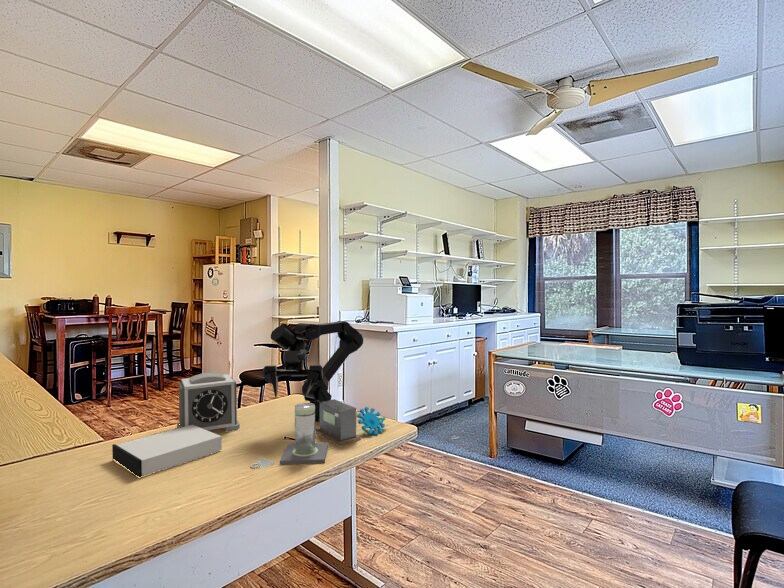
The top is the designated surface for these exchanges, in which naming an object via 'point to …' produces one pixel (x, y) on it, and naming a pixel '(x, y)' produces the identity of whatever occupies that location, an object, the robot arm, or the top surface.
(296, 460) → the pad
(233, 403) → the alarm clock
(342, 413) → the control unit
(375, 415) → the gear
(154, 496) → the top surface
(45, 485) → the top surface
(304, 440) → the canister
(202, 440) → the disc drive
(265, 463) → the mounting bracket
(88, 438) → the top surface
